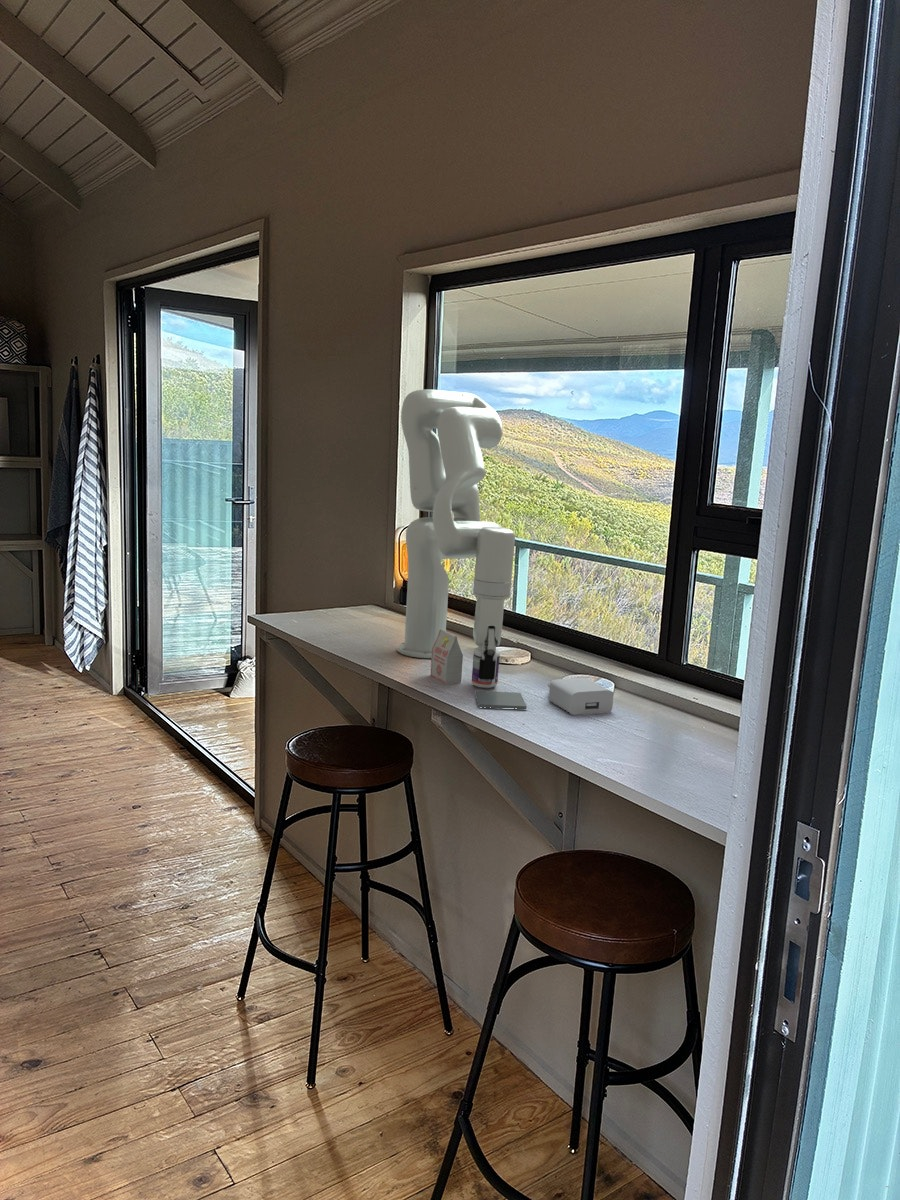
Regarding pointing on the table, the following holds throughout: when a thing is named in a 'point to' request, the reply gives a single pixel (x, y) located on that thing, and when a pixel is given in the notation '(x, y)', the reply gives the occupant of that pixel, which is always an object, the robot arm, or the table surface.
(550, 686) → the charger
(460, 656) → the milk carton
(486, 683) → the pill bottle
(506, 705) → the coaster
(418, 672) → the table surface
